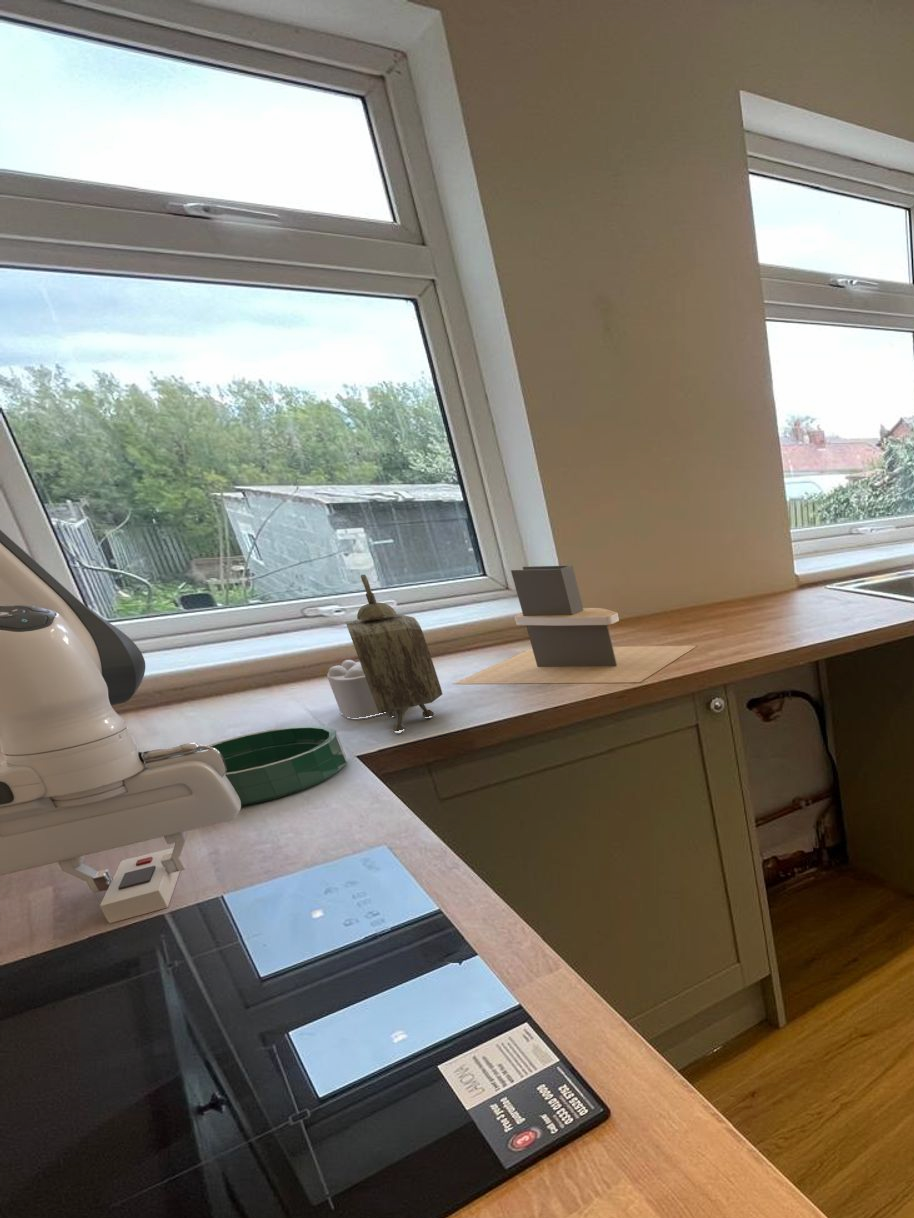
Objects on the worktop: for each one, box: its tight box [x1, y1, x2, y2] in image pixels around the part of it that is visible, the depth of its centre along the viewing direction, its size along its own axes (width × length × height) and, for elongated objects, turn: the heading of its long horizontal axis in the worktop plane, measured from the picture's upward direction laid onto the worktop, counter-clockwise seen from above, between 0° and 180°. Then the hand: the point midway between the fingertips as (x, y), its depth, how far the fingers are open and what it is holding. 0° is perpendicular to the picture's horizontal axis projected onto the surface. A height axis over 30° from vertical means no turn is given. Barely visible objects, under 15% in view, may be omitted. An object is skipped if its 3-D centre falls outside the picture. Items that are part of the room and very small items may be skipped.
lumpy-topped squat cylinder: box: [326, 659, 411, 721], centre depth 145 cm, size 10×13×9 cm
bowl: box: [199, 725, 347, 807], centre depth 116 cm, size 19×19×5 cm
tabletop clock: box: [345, 574, 443, 732], centre depth 133 cm, size 14×9×25 cm, turn 40°
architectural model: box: [453, 564, 697, 685], centre depth 163 cm, size 38×25×20 cm, turn 85°
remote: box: [99, 847, 181, 924], centre depth 89 cm, size 12×4×2 cm, turn 38°
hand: (141, 879), depth 89 cm, fingers closed on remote, 4 cm apart
